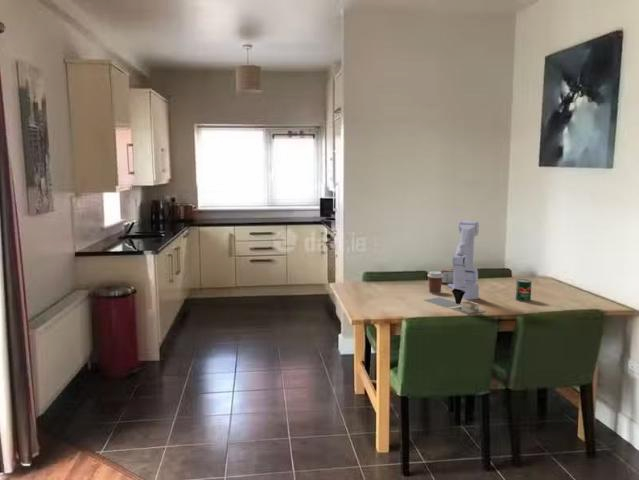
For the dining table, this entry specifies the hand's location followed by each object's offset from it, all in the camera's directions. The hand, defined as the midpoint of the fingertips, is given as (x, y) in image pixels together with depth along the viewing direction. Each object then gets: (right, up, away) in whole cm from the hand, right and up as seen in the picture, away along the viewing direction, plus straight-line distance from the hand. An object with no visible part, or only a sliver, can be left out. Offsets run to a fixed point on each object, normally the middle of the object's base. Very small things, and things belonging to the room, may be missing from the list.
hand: (458, 303), depth 280 cm
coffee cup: (-5, +2, +35) cm, 36 cm away
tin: (+10, +6, +61) cm, 62 cm away
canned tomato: (+40, 0, +17) cm, 44 cm away
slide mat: (-2, -2, +4) cm, 4 cm away
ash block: (+4, -3, -7) cm, 9 cm away
